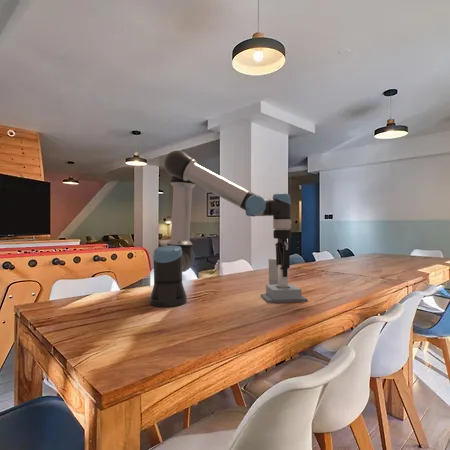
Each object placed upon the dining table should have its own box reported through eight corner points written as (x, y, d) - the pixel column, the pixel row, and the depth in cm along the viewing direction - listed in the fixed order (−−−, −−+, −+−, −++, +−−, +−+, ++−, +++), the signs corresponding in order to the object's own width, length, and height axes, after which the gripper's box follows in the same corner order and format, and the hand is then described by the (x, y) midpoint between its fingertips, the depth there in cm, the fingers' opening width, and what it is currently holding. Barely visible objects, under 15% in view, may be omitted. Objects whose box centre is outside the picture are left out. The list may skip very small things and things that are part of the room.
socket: (267, 303, 124) (267, 290, 124) (260, 296, 136) (260, 284, 136) (307, 301, 126) (307, 289, 126) (297, 294, 138) (296, 283, 138)
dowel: (279, 294, 129) (279, 265, 129) (277, 292, 133) (276, 264, 133) (289, 293, 129) (288, 265, 129) (286, 291, 133) (285, 264, 133)
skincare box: (280, 292, 144) (279, 259, 144) (267, 290, 148) (267, 258, 148) (287, 289, 151) (287, 257, 151) (276, 287, 155) (275, 257, 155)
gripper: (297, 229, 123) (298, 286, 123) (284, 229, 140) (285, 279, 140) (279, 229, 122) (280, 287, 122) (268, 229, 139) (269, 280, 139)
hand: (282, 283), depth 131 cm, fingers closed on dowel, 4 cm apart
